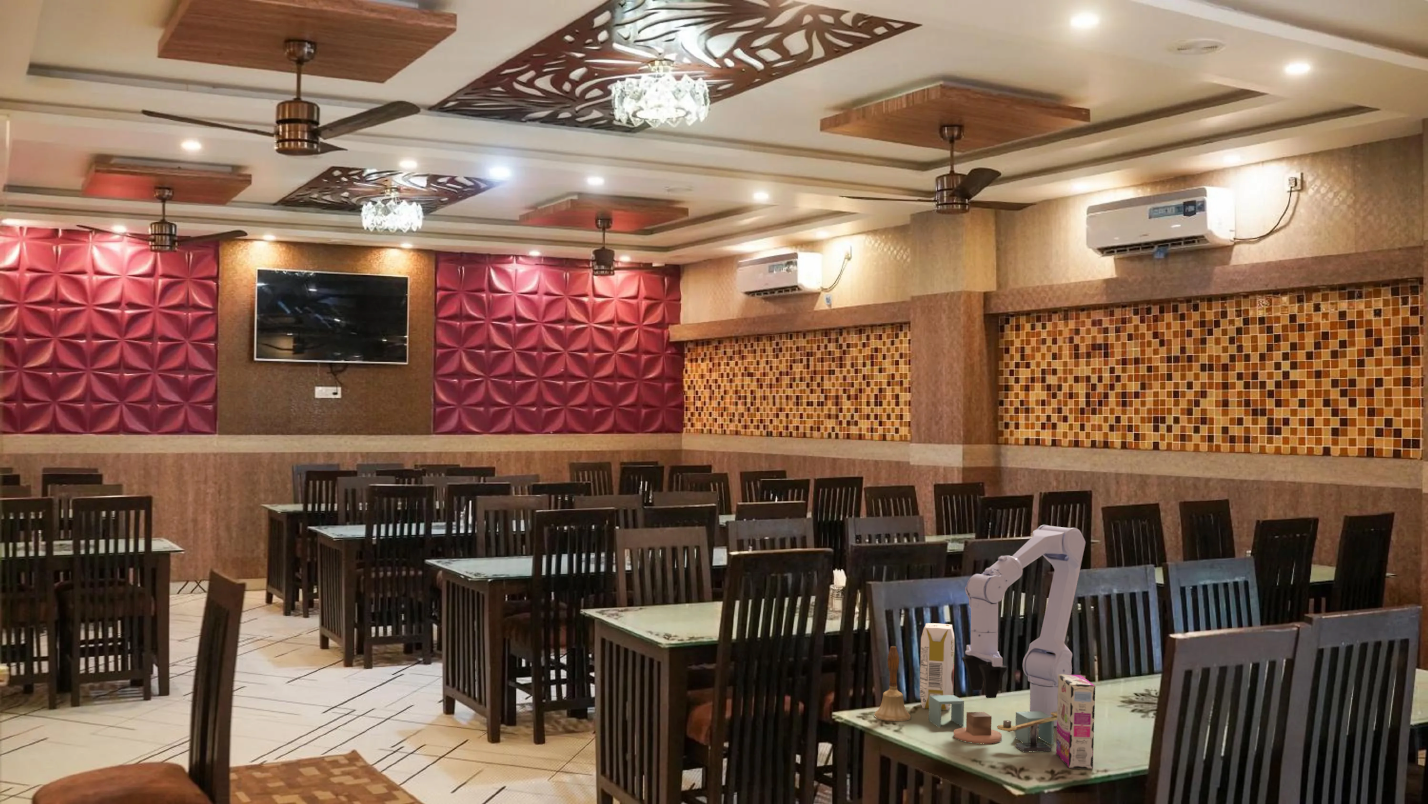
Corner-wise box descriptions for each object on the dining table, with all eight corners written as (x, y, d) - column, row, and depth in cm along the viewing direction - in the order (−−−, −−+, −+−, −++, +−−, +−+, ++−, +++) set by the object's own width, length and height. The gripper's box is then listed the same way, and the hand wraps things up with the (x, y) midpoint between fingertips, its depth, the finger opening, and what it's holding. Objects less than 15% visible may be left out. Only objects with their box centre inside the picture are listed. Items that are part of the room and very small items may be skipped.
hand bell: (910, 722, 279) (911, 650, 279) (872, 719, 280) (874, 648, 281) (911, 713, 287) (913, 644, 287) (875, 711, 288) (876, 642, 289)
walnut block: (983, 730, 269) (984, 711, 269) (991, 735, 265) (991, 716, 265) (966, 730, 268) (966, 711, 268) (973, 735, 264) (973, 716, 264)
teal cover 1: (953, 719, 282) (953, 694, 282) (963, 726, 276) (964, 700, 276) (928, 720, 281) (929, 695, 281) (938, 726, 275) (939, 701, 275)
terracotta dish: (990, 731, 272) (990, 726, 272) (1009, 742, 262) (1009, 738, 262) (946, 732, 270) (946, 727, 270) (964, 744, 260) (964, 739, 260)
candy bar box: (1094, 769, 243) (1096, 685, 244) (1069, 769, 243) (1070, 684, 244) (1080, 754, 254) (1081, 673, 255) (1055, 753, 255) (1056, 672, 255)
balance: (1064, 745, 262) (1065, 710, 262) (1073, 750, 258) (1074, 715, 258) (993, 747, 258) (994, 712, 259) (1001, 752, 255) (1002, 717, 255)
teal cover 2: (1040, 737, 268) (1041, 711, 268) (1053, 744, 262) (1053, 717, 262) (1015, 737, 267) (1015, 711, 267) (1027, 745, 261) (1028, 718, 261)
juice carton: (918, 708, 292) (920, 627, 292) (921, 701, 300) (923, 621, 300) (951, 711, 290) (953, 629, 290) (953, 703, 298) (955, 623, 299)
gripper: (953, 625, 276) (953, 686, 276) (980, 636, 262) (979, 701, 262) (983, 624, 278) (983, 685, 278) (1012, 636, 264) (1011, 700, 264)
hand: (983, 693), depth 270 cm, fingers open, 7 cm apart
